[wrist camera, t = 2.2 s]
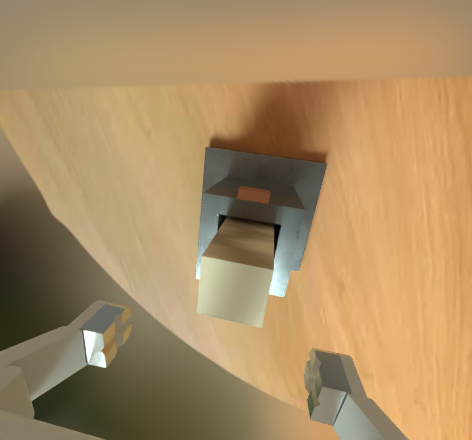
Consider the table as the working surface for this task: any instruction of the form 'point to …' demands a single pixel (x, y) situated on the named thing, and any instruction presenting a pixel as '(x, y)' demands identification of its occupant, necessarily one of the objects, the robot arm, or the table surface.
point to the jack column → (237, 271)
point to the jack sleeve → (261, 202)
